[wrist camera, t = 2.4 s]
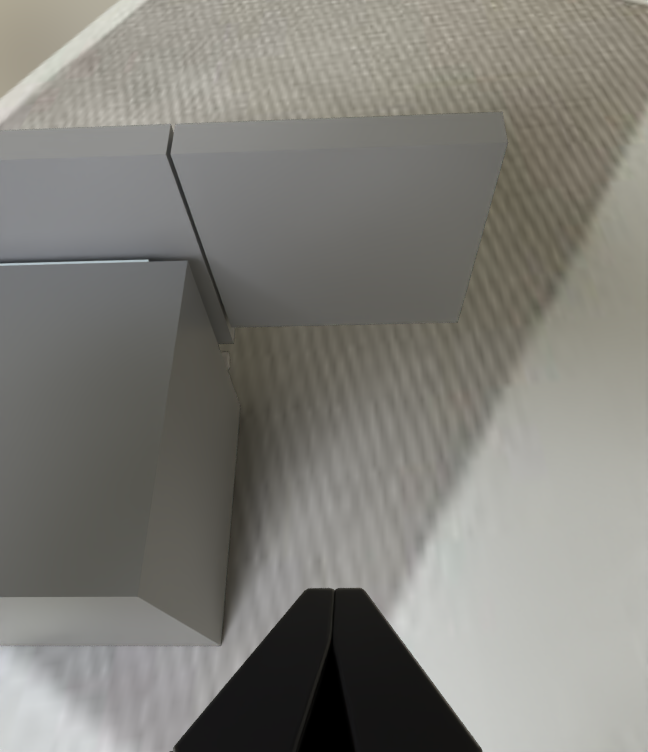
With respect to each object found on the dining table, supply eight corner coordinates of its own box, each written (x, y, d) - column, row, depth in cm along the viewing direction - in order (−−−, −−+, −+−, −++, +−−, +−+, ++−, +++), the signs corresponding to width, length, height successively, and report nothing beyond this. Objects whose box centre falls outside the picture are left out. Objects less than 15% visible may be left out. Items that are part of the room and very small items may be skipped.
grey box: (220, 645, 18) (119, 586, 10) (-41, 645, 19) (-328, 587, 11) (241, 390, 23) (180, 212, 15) (28, 393, 23) (-141, 221, 15)
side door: (453, 338, 20) (507, 142, 13) (-18, 348, 20) (-219, 168, 13) (450, 314, 20) (502, 111, 13) (-11, 325, 21) (-203, 137, 14)
